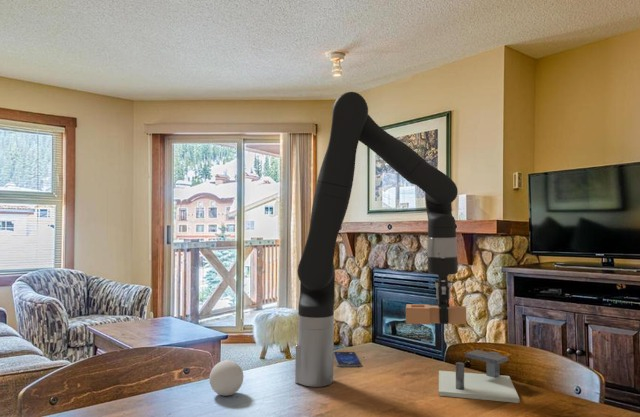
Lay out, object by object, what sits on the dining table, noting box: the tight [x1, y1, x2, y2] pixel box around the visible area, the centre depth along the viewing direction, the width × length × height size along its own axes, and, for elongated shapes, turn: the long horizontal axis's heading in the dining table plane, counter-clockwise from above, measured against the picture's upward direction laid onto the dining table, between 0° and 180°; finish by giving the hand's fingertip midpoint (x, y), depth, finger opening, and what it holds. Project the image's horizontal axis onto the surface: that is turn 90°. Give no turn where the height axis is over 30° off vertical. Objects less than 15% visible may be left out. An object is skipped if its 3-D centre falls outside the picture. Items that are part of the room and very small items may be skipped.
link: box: [405, 303, 467, 325], centre depth 124 cm, size 15×6×4 cm, turn 77°
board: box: [438, 370, 520, 404], centre depth 120 cm, size 18×17×1 cm
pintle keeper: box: [455, 349, 509, 390], centre depth 121 cm, size 13×16×7 cm
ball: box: [208, 359, 244, 397], centre depth 113 cm, size 8×8×8 cm
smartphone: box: [333, 351, 363, 368], centre depth 144 cm, size 7×1×15 cm
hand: (443, 321), depth 123 cm, fingers closed on link, 3 cm apart
